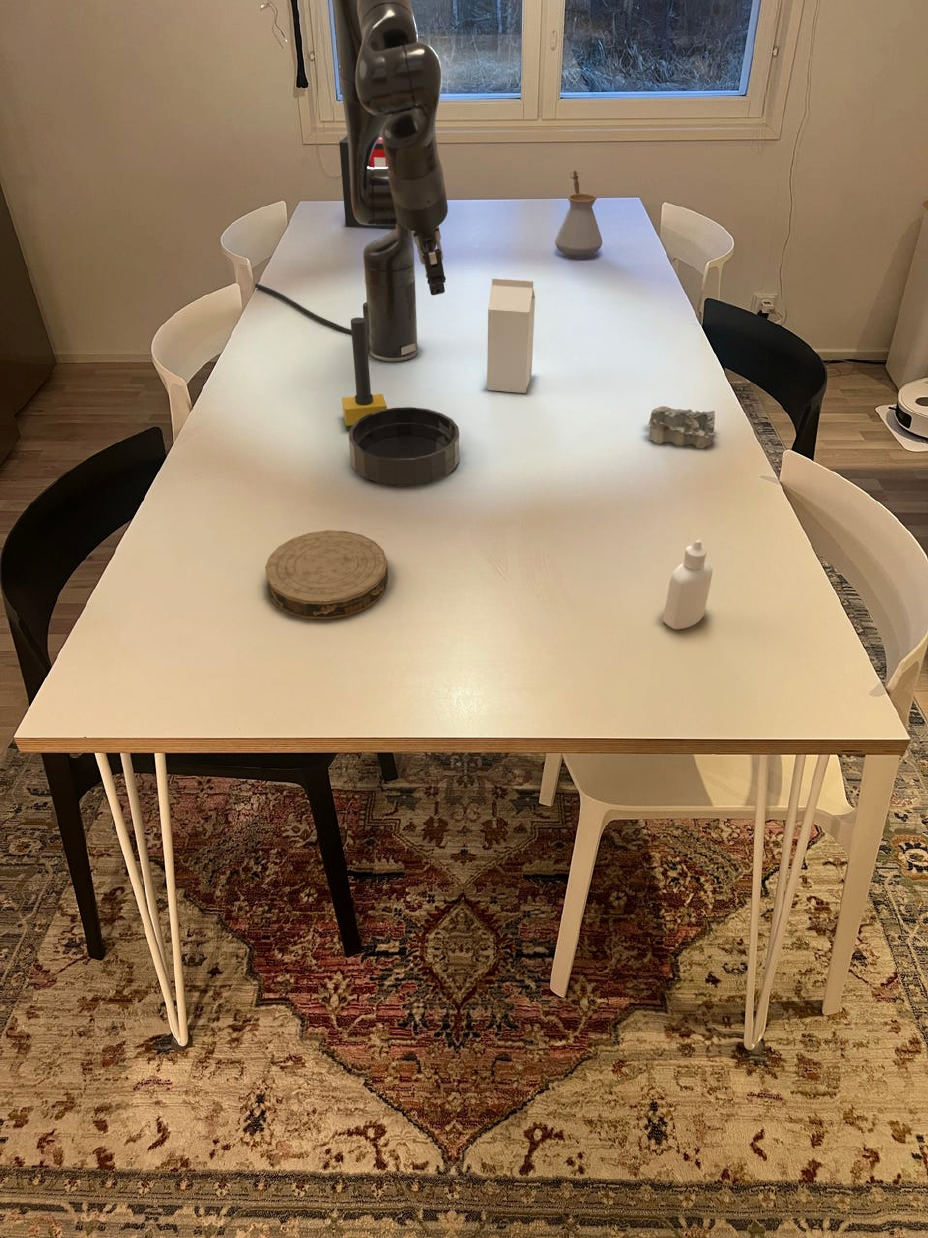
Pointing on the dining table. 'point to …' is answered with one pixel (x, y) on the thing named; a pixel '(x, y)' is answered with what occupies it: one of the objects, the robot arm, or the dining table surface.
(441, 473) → the bowl
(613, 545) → the dining table surface
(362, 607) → the wood slice
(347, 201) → the cleaning product box
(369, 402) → the sponge wand
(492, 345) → the milk carton
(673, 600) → the eye dropper bottle
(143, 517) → the dining table surface
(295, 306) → the robot arm
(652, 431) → the egg carton
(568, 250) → the coffee pot
